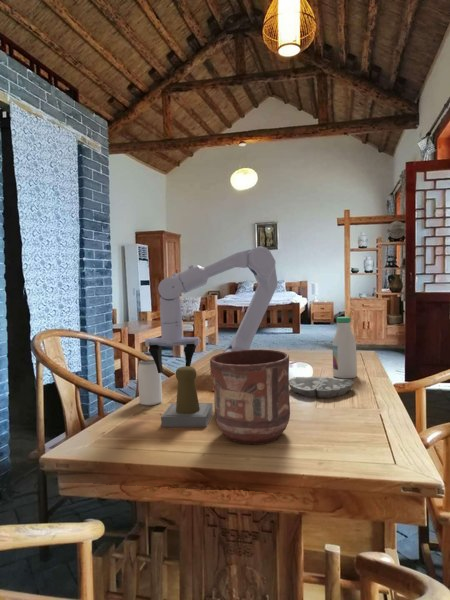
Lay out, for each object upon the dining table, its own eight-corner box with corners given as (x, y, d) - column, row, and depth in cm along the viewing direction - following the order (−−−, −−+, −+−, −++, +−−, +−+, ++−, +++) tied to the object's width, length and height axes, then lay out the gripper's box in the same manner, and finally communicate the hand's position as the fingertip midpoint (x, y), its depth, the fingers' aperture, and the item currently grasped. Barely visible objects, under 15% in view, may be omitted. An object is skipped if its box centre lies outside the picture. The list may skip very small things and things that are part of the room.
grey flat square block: (212, 412, 120) (212, 402, 120) (206, 426, 109) (205, 416, 109) (172, 412, 121) (171, 403, 121) (161, 426, 110) (161, 416, 110)
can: (157, 406, 128) (155, 364, 127) (136, 405, 129) (133, 364, 128) (165, 399, 134) (163, 359, 133) (144, 399, 136) (142, 359, 135)
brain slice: (280, 399, 130) (280, 389, 130) (293, 384, 146) (293, 375, 146) (351, 403, 123) (351, 392, 123) (356, 387, 139) (356, 377, 139)
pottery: (216, 422, 112) (212, 350, 110) (287, 420, 111) (285, 347, 110) (211, 452, 94) (207, 366, 93) (297, 449, 93) (293, 363, 92)
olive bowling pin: (189, 415, 110) (187, 370, 109) (170, 411, 113) (168, 368, 113) (204, 408, 115) (202, 365, 114) (186, 405, 118) (183, 363, 118)
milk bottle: (359, 374, 154) (358, 316, 152) (353, 380, 147) (351, 318, 146) (337, 373, 158) (336, 315, 156) (330, 377, 151) (328, 318, 150)
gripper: (140, 324, 119) (143, 376, 120) (195, 323, 117) (197, 375, 118) (148, 321, 126) (151, 370, 127) (199, 320, 124) (202, 369, 125)
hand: (174, 372), depth 123 cm, fingers open, 7 cm apart
